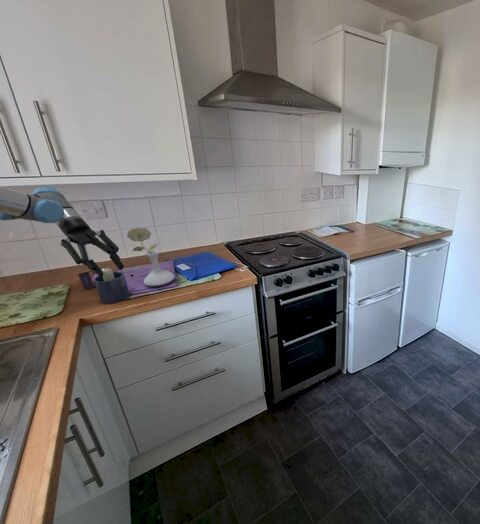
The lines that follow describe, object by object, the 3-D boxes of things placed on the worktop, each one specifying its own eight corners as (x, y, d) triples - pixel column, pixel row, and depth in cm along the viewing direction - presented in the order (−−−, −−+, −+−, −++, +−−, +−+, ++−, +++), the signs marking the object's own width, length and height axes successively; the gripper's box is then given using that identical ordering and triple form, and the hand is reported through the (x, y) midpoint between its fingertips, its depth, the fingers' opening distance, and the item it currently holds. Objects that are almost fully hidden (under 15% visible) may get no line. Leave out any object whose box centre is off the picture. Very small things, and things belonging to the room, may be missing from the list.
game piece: (105, 298, 114) (95, 271, 110) (112, 292, 118) (103, 266, 114) (117, 298, 115) (108, 271, 110) (125, 292, 119) (116, 266, 114)
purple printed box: (78, 273, 121) (105, 267, 127) (77, 274, 124) (104, 267, 130) (84, 289, 122) (111, 282, 128) (83, 289, 125) (110, 282, 131)
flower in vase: (178, 275, 135) (165, 222, 125) (170, 287, 125) (155, 229, 115) (146, 278, 132) (130, 223, 122) (135, 290, 122) (117, 231, 112)
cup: (95, 303, 112) (87, 282, 109) (111, 292, 121) (104, 272, 117) (120, 303, 113) (113, 281, 109) (134, 291, 121) (128, 271, 118)
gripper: (98, 223, 121) (135, 267, 121) (37, 237, 104) (80, 287, 105) (102, 211, 116) (140, 257, 117) (39, 224, 100) (84, 276, 101)
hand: (112, 271), depth 111 cm, fingers open, 6 cm apart
